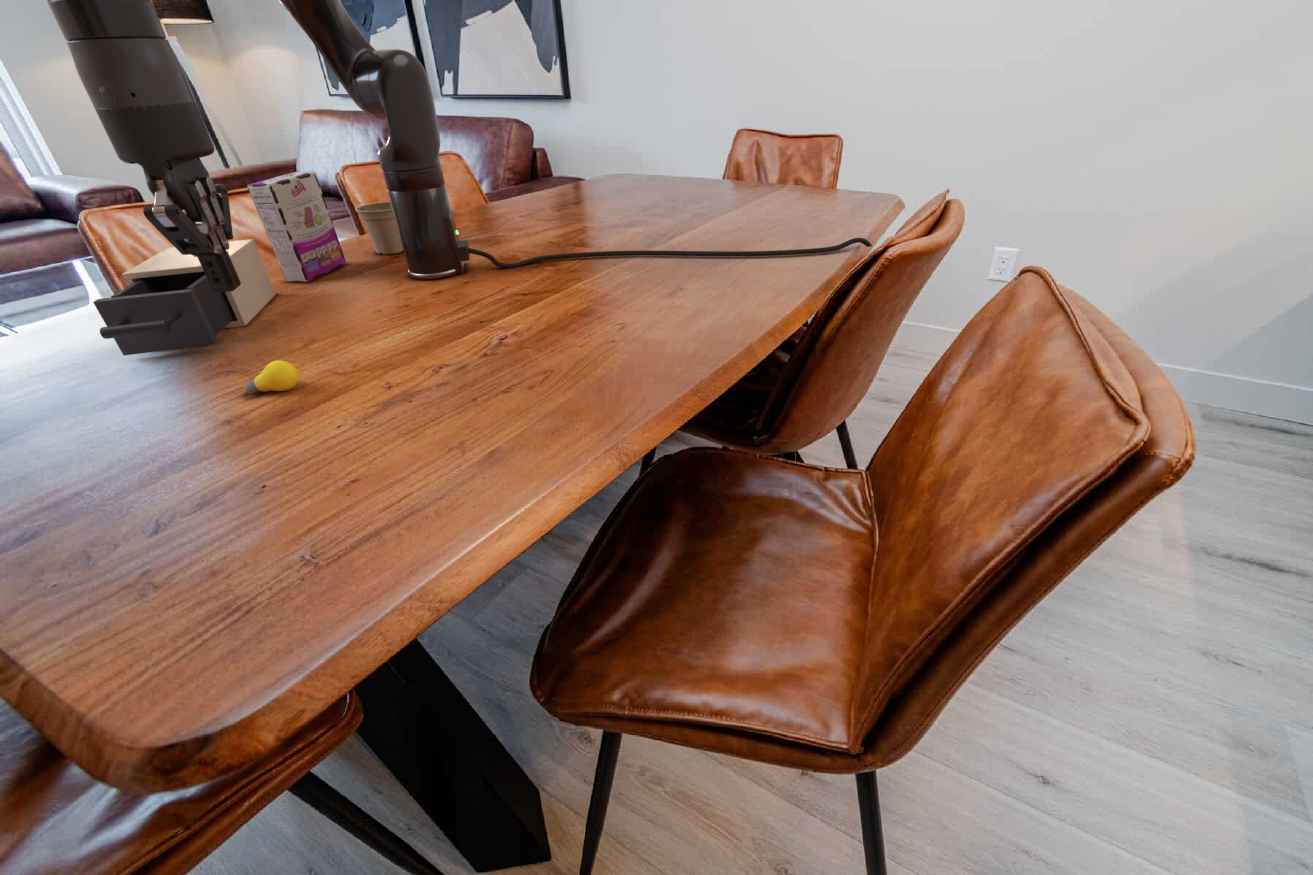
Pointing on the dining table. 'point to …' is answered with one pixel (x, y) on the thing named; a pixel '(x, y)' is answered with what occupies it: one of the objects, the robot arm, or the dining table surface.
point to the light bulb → (274, 378)
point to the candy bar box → (298, 225)
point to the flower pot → (381, 227)
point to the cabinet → (171, 261)
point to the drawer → (165, 314)
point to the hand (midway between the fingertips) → (228, 289)
